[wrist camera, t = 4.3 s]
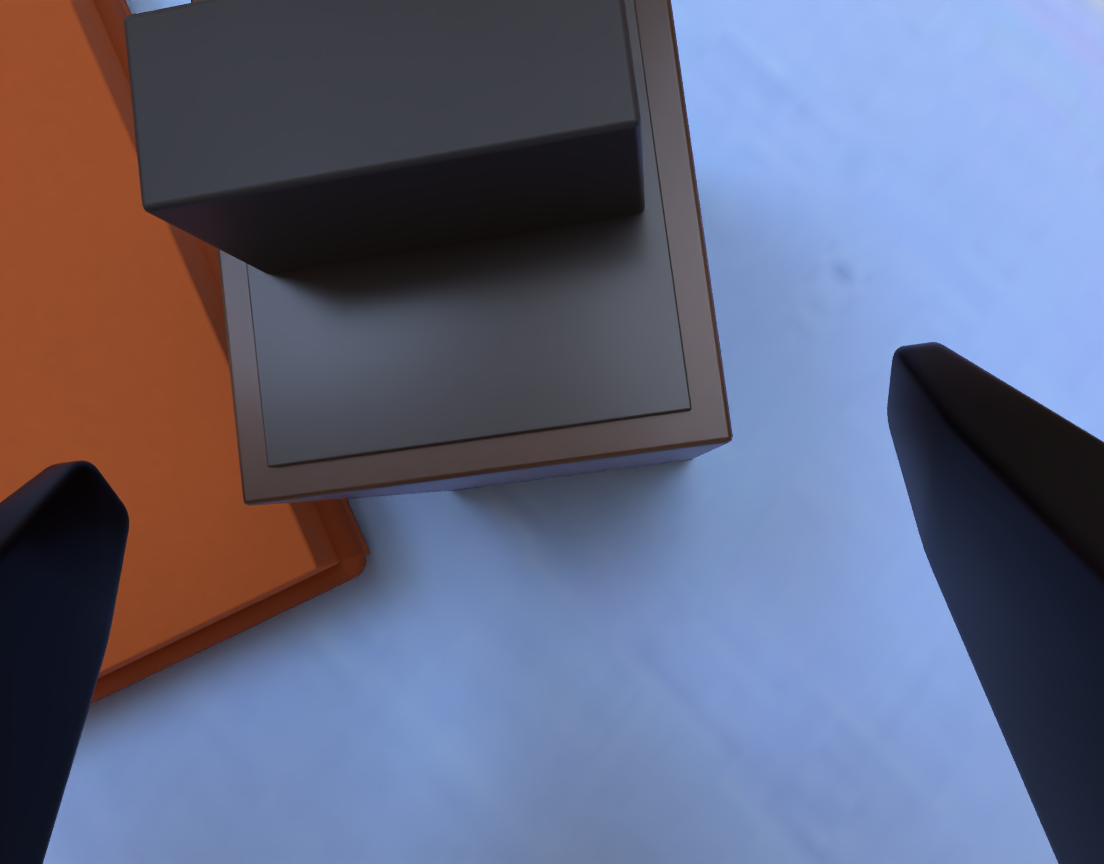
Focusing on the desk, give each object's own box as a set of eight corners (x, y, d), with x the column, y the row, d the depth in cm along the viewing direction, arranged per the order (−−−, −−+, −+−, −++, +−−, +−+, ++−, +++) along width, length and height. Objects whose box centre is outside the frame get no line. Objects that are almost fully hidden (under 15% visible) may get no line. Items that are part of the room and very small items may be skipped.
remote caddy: (694, 459, 19) (761, 430, 7) (448, 490, 20) (103, 516, 7) (651, 152, 20) (642, -397, 7) (413, 193, 20) (30, -247, 8)
